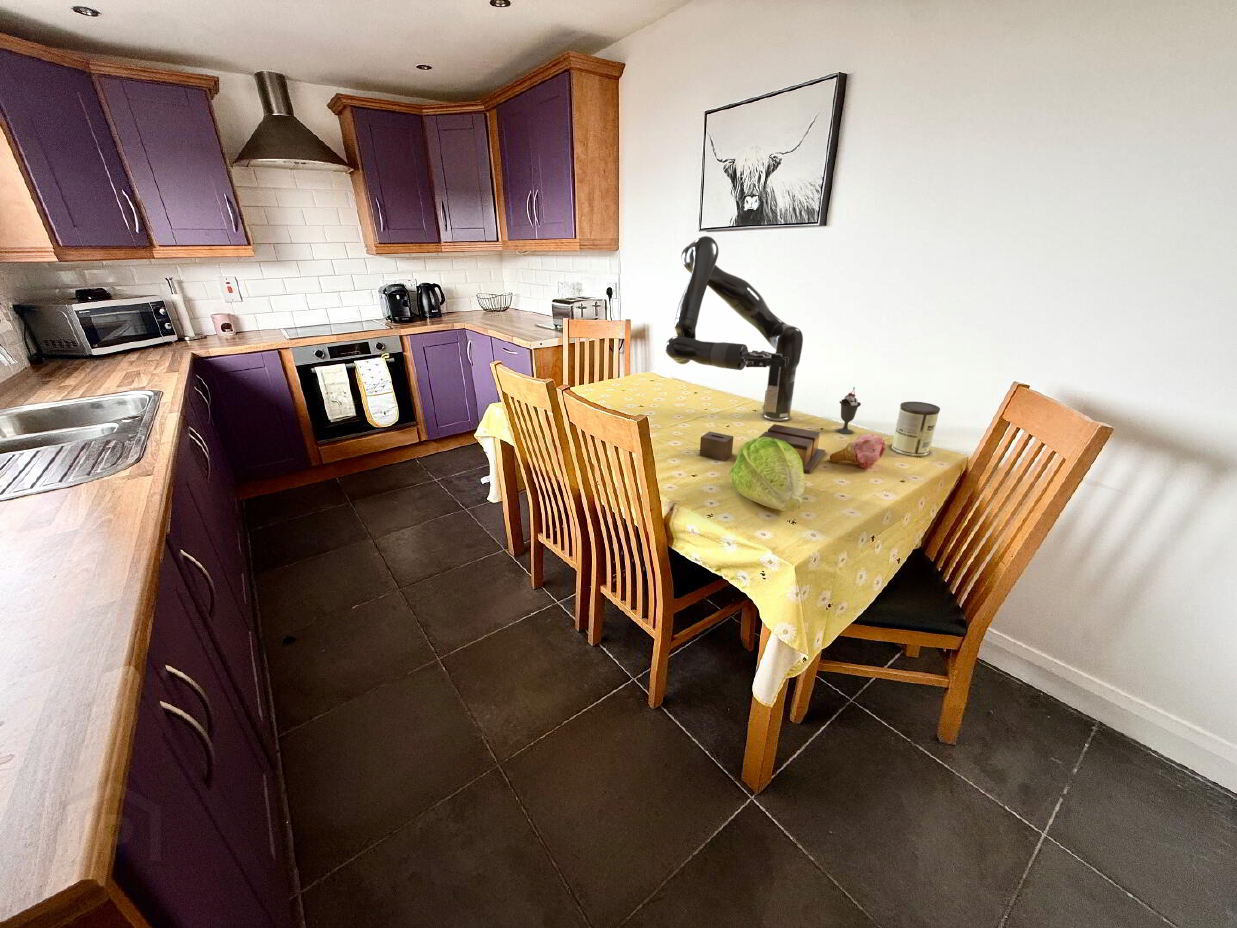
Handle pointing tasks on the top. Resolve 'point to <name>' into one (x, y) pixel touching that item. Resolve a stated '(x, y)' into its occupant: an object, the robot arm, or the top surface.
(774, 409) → the knife
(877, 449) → the ice cream
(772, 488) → the lettuce
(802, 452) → the slotted wooden block
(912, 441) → the coffee can
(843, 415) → the sundae
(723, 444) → the knife block
